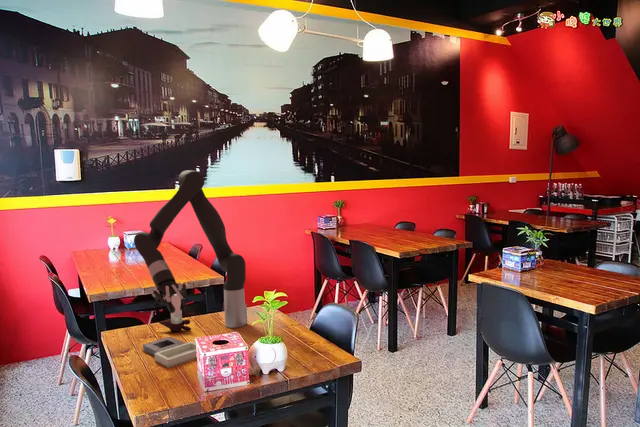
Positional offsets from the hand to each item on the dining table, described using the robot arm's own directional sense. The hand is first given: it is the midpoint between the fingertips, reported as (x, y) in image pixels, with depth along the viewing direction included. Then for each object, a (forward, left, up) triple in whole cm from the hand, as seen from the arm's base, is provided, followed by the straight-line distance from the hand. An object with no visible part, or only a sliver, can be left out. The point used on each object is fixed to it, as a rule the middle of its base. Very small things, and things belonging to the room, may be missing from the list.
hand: (178, 310), depth 179 cm
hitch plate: (0, -13, -19) cm, 23 cm away
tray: (0, -1, -19) cm, 19 cm away
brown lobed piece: (-15, -30, -19) cm, 39 cm away
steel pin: (0, -2, -5) cm, 5 cm away
